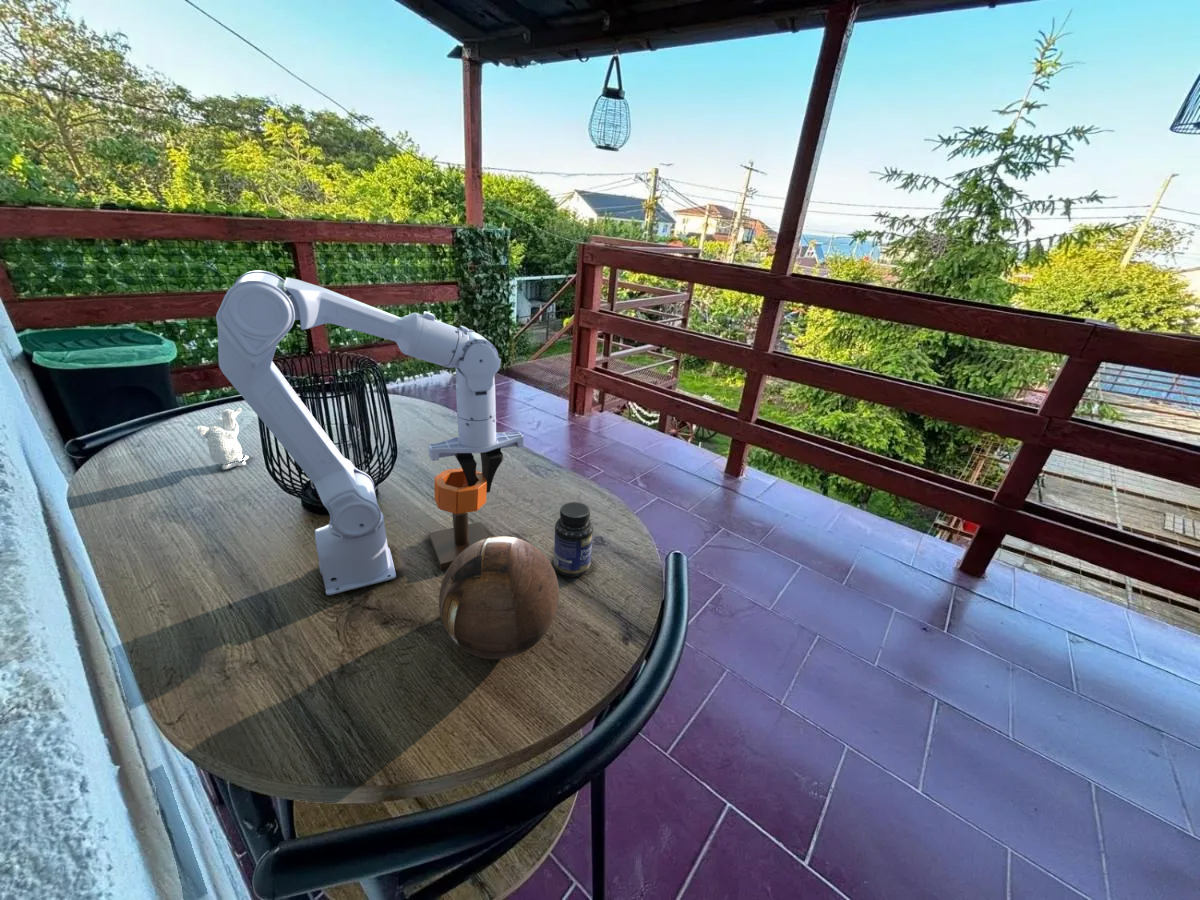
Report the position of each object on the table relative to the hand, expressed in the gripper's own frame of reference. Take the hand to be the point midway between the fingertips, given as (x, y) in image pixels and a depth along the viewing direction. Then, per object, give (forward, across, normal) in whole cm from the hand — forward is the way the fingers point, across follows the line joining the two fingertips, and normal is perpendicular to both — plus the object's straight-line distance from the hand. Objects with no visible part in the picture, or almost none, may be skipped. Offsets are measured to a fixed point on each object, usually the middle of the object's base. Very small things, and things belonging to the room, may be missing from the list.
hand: (479, 490), depth 79 cm
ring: (+1, +3, 0) cm, 3 cm away
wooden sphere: (+11, +4, +22) cm, 24 cm away
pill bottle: (+10, -12, +12) cm, 20 cm away
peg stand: (+10, +3, 0) cm, 11 cm away
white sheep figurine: (+11, +39, -46) cm, 62 cm away
